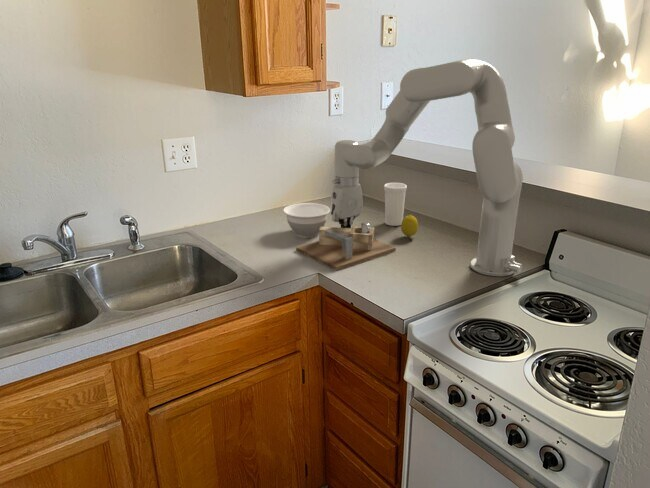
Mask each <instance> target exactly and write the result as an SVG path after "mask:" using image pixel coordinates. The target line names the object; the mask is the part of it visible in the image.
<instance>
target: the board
mask: <svg viewBox="0 0 650 488" xmlns="http://www.w3.org/2000/svg"><path fill="white" fill-rule="evenodd" d="M396 249H397V248H396V247H394V246H392V245H390V244H387V243H385V242H383V241H380V240H377V239H375V238H374V244H373V248H372V250H361V249H352V259H349V260H344V259H342V246H336V245H320V244H319V240H317V241H313V242H310V243H306V244H303V245H299V246H296V247H295V251H296V252H298V253H300V254H302V255H303V256H306V257H308V258H310V259H312V260H314V261H316V262H319V263H320V264H322V265H324V266H326V267H329V268H330V269H332V270H334V271H336V272H337V271H340V270H343V269H347V268H349V267H353V266H356V265H358V264H361V263H365V262H367V261H368V262H369V261H370V260H373V259H376V258H379V257H382V256H385V255H389V254H392V253H395V252H396Z"/></svg>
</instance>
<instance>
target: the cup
mask: <svg viewBox="0 0 650 488" xmlns="http://www.w3.org/2000/svg"><path fill="white" fill-rule="evenodd" d="M383 189H384V220H385V221H384V223H385V225H388V226H393V227H395V226H396V227H398V226H401V224H402V220H403V219H404V212H405V202H406V201H405V200H406V194H407V193H406V191H407V189H408V187H407V184H405V183H403V182H387V183H385V184H384V185H383Z"/></svg>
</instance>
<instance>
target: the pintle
mask: <svg viewBox="0 0 650 488" xmlns="http://www.w3.org/2000/svg"><path fill="white" fill-rule="evenodd" d="M360 225H361V226H360V227H361V233H367V234H369V232H370V227H371V223H370V222H364V221H363V222H361V224H360Z"/></svg>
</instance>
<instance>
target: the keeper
mask: <svg viewBox="0 0 650 488" xmlns="http://www.w3.org/2000/svg"><path fill="white" fill-rule="evenodd" d="M325 234H326V235H328V236H330V237H333V238H335V239H337V240H340V241H342V259H344V260H349V259H352V242H353V238H352V237H350V236H347V235H345V234H342V233H340V232H338V231H335V230H333V229H329V230H325Z"/></svg>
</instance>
